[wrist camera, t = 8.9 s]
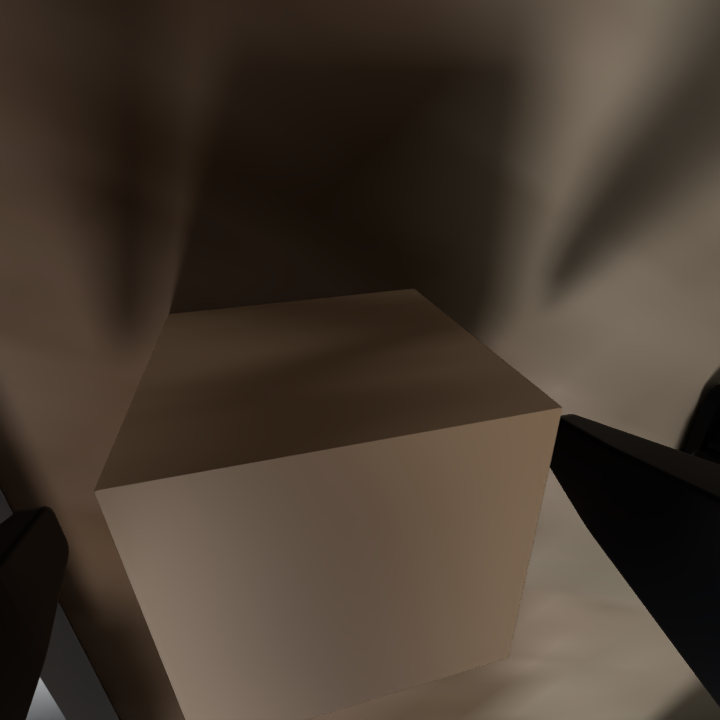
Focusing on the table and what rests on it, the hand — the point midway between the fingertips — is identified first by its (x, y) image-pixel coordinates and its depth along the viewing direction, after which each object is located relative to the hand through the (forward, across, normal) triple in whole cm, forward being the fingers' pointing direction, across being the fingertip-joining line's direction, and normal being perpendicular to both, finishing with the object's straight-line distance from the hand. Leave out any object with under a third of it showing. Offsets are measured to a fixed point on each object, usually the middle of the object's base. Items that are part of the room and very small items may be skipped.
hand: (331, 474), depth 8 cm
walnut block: (+2, 0, 0) cm, 3 cm away
